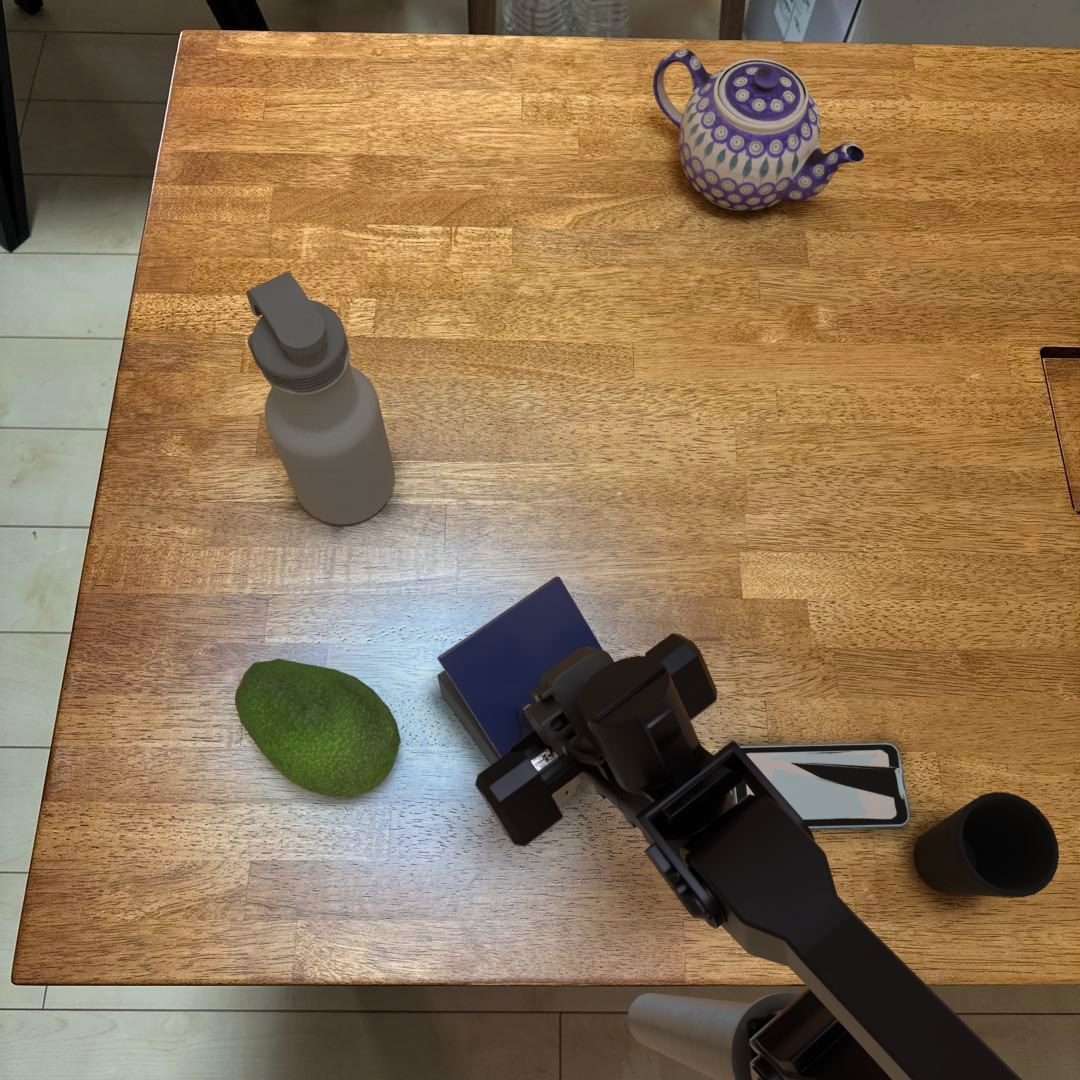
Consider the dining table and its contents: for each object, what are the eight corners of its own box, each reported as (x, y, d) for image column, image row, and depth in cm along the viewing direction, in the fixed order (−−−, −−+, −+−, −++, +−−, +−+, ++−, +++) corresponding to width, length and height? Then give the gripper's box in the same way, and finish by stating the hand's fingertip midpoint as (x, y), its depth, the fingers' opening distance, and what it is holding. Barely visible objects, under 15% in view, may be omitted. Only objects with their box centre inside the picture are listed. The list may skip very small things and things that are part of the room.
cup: (888, 879, 87) (943, 865, 76) (917, 799, 90) (975, 774, 79) (974, 924, 86) (1043, 916, 75) (1001, 841, 88) (1072, 822, 77)
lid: (436, 657, 79) (449, 665, 75) (556, 575, 82) (575, 579, 78) (530, 806, 82) (548, 821, 77) (643, 721, 85) (666, 732, 80)
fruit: (222, 730, 90) (189, 702, 81) (295, 643, 94) (272, 606, 84) (354, 832, 87) (336, 815, 78) (426, 738, 90) (417, 711, 81)
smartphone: (729, 745, 90) (897, 741, 90) (727, 747, 91) (894, 743, 91) (737, 831, 87) (911, 827, 87) (735, 832, 88) (908, 828, 88)
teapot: (610, 161, 117) (623, 52, 104) (687, 86, 122) (710, -27, 109) (791, 276, 112) (831, 177, 98) (865, 193, 117) (912, 88, 103)
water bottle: (276, 465, 101) (197, 289, 75) (363, 420, 103) (315, 234, 77) (325, 545, 97) (259, 390, 72) (414, 497, 100) (381, 329, 74)
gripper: (723, 612, 66) (603, 548, 80) (489, 784, 61) (403, 686, 75) (774, 735, 71) (653, 656, 84) (560, 903, 66) (468, 791, 80)
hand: (548, 693), depth 81 cm, fingers closed on lid, 5 cm apart
